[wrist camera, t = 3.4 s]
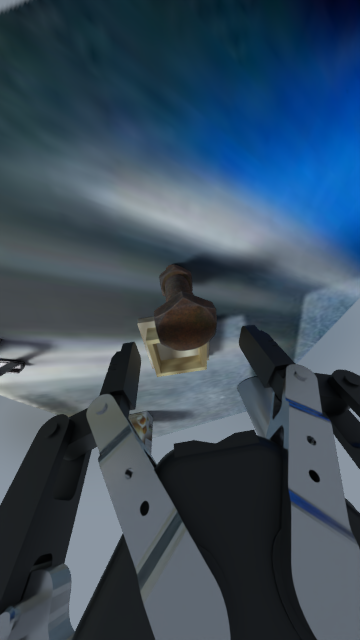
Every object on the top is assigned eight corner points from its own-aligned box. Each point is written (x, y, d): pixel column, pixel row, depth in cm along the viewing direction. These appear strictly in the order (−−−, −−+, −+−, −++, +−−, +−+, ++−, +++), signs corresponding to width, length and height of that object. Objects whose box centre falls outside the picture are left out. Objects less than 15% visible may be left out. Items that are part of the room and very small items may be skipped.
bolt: (178, 248, 22) (200, 287, 10) (196, 274, 25) (230, 329, 13) (150, 272, 24) (139, 330, 12) (169, 294, 26) (177, 360, 14)
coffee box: (147, 410, 51) (142, 476, 38) (153, 417, 55) (151, 480, 42) (122, 415, 51) (109, 483, 38) (129, 422, 55) (120, 486, 42)
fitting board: (208, 309, 29) (216, 324, 25) (207, 355, 37) (212, 372, 33) (138, 318, 29) (134, 335, 25) (152, 363, 37) (151, 381, 33)
